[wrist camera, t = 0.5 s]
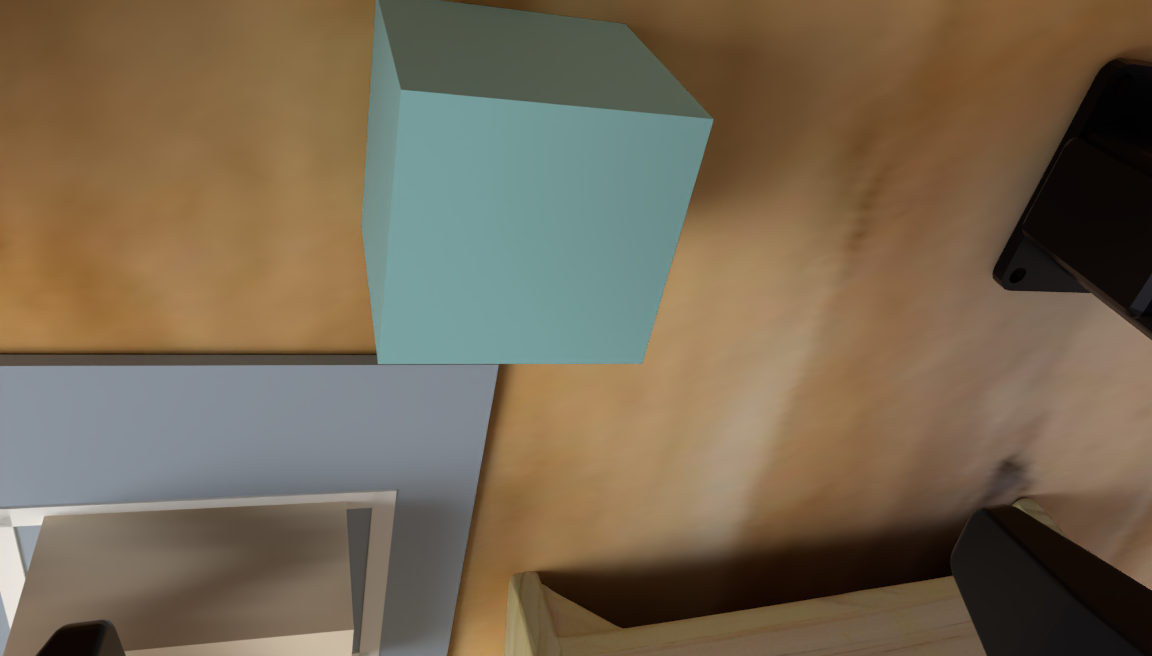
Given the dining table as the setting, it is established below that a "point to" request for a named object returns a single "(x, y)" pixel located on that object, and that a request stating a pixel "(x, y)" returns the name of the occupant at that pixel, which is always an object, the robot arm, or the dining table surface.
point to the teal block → (520, 185)
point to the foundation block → (195, 581)
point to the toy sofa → (760, 623)
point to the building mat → (259, 462)
